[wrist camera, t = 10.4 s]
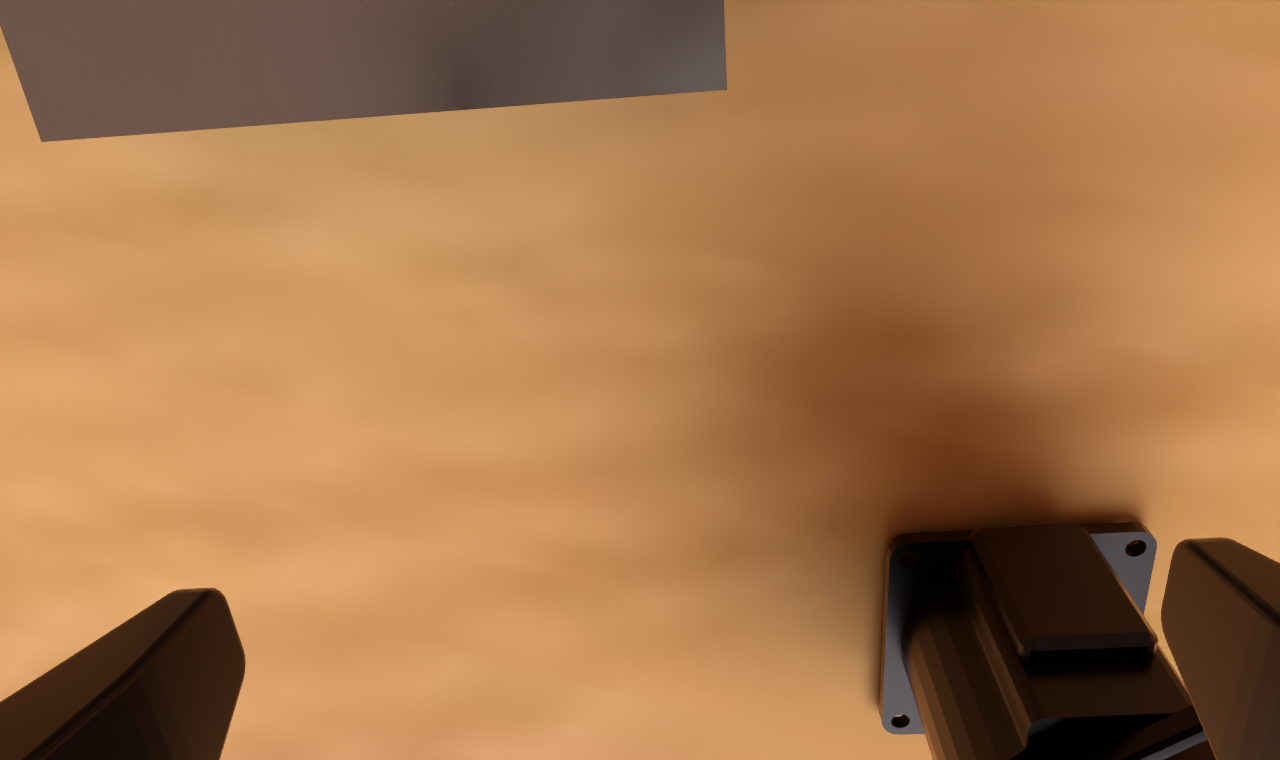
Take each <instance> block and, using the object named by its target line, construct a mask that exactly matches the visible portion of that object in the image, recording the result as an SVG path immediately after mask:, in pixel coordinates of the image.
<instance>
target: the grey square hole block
mask: <svg viewBox="0 0 1280 760" xmlns="http://www.w3.org/2000/svg"><path fill="white" fill-rule="evenodd" d="M0 26H1V29H2V31H3V34H4V37H5V40H6V43H7V45H8V48H9V51H10V54H11V57H12V60H13V62H14V65H15V68H16V71H17V74H18V77H19V79H20V82H21V85H22V88H23V91H24V93H25V96H26V99H27V102H28V105H29V108H30V110H31V113H32V116H33V119H34V122H35V125H36V127H37V130H38V133H39V136H40V139H41V141H42V142H47V141H60V140H73V139H86V138H99V137H112V136H125V135H139V134H152V133H165V132H178V131H191V130H204V129H217V128H230V127H243V126H257V125H270V124H283V123H296V122H309V121H322V120H335V119H348V118H362V117H375V116H388V115H401V114H414V113H427V112H440V111H453V110H467V109H480V108H493V107H506V106H519V105H532V104H545V103H558V102H572V101H585V100H598V99H611V98H624V97H637V96H650V95H663V94H676V93H690V92H703V91H716V90H727V80H726V53H725V27H724V0H0Z"/></svg>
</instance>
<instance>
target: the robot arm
mask: <svg viewBox="0 0 1280 760" xmlns="http://www.w3.org/2000/svg"><path fill="white" fill-rule="evenodd" d="M1135 540H1138V542H1137V543H1136V544H1135V545H1133V546H1130V547H1126V546H1127V544H1129V543H1130V542H1131V541H1135ZM1156 548H1157V544H1156V540H1155V538H1154V537H1153V535H1152V534H1151V533H1150V531H1149V530H1148V529H1147V528H1146V526H1144V525H1142V524H1140V523H1134V522H1126V523H1106V524H1086V525H1078V524H1066V525H1046V526H1026V527H1006V528H986V529H980V530H966V531H946V532H926V533H907V534H902V535H899V536H897V537H895V538H893V539H892V540H891V541H890V543H889V544H888V546H887V549H886V566H885V589H884V612H883V635H882V658H881V681H880V704H879V712H880V717H881V720H882V724H883V727H884V728H885V729H886V731H888V732H890V733H892V734H925V735H926V738H927V742H928V745H929V748H930V751H931V755H932V758H933V760H1280V563H1278V562H1276V561H1274V560H1272V559H1270V558H1268V557H1266V556H1264V555H1262V554H1260V553H1258V552H1256V551H1254V550H1252V549H1250V548H1248V547H1246V546H1244V545H1242V544H1240V543H1238V542H1236V541H1234V540H1232V539H1229V538H1200V539H1186V540H1183V541H1182V542H1180V543H1179V544H1177V546H1176V548H1175V549H1174V552H1173V555H1172V560H1171V565H1170V569H1169V574H1168V579H1167V584H1166V589H1165V594H1164V599H1163V603H1162V609H1161V622H1162V628H1163V632H1164V635H1165V638H1166V641H1167V643H1168V646H1169V648H1170V650H1171V653H1172V655H1173V658H1174V660H1175V662H1176V665H1177V667H1178V670H1179V672H1180V674H1181V677H1182V679H1183V681H1182V680H1181V678H1180V677H1179V675H1178V674H1177V672H1176V671H1175V669H1174V668H1173V666H1172V665H1171V663H1170V662H1169V660H1168V659H1167V657H1166V656H1165V654H1164V653H1163V651H1162V650H1161V648H1160V646H1159V645H1158V638H1157V635H1156V634H1155V632H1154V631H1153V629H1152V628H1151V626H1150V625H1149V623H1148V622H1147V620H1146V619H1145V617H1144V616H1143V614H1144V609H1145V604H1146V599H1147V594H1148V589H1149V584H1150V579H1151V574H1152V569H1153V564H1154V559H1155V554H1156ZM908 551H914V552H915V554H914V555H912V556H911V557H908V558H903V557H900V556H901V555H902V554H903V553H905V552H908ZM244 674H245V654H244V650H243V647H242V644H241V641H240V638H239V635H238V632H237V629H236V626H235V623H234V620H233V617H232V615H231V612H230V609H229V606H228V603H227V600H226V598H225V596H224V595H223V594H222V592H221V591H219V590H217V589H215V588H197V589H181V590H176V591H173V592H171V593H169V594H168V595H166V596H165V597H163V598H162V599H160V600H158V601H157V602H155V603H154V604H152V605H151V606H149V607H148V608H146V609H144V610H143V611H141V612H140V613H138V614H137V615H135V616H134V617H132V618H130V619H129V620H127V621H126V622H124V623H123V624H121V625H120V626H118V627H116V628H115V629H113V630H112V631H110V632H109V633H107V634H106V635H104V636H102V637H101V638H99V639H98V640H96V641H95V642H93V643H92V644H90V645H88V646H87V647H85V648H84V649H82V650H81V651H79V652H77V653H76V654H74V655H73V656H71V657H70V658H68V659H67V660H65V661H63V662H62V663H60V664H59V665H57V666H56V667H54V668H53V669H51V670H49V671H48V672H46V673H45V674H43V675H42V676H40V677H39V678H37V679H35V680H34V681H32V682H31V683H29V684H28V685H26V686H25V687H23V688H21V689H20V690H18V691H17V692H15V693H14V694H12V695H11V696H9V697H7V698H6V699H4V700H3V701H1V702H0V760H220V757H221V754H222V750H223V747H224V744H225V740H226V737H227V733H228V730H229V727H230V723H231V720H232V716H233V713H234V710H235V706H236V703H237V699H238V696H239V693H240V689H241V686H242V682H243V679H244ZM1183 682H1184V683H1183ZM1184 684H1185V685H1184ZM900 714H902V716H900V717H894V716H896V715H900Z"/></svg>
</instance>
